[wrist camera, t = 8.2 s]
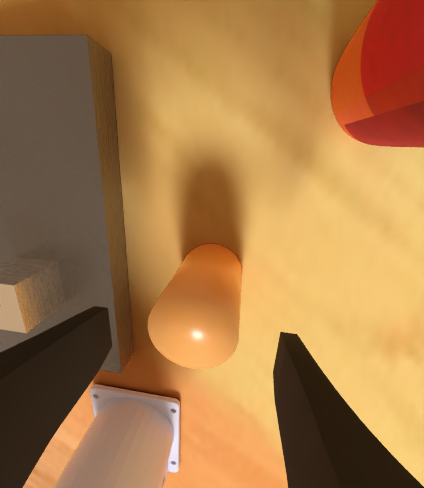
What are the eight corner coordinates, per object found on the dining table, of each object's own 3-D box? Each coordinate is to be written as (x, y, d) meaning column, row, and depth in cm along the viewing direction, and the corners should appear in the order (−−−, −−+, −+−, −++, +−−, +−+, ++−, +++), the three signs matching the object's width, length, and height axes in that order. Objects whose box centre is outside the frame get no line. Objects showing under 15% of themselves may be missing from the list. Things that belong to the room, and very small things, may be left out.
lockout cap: (239, 301, 16) (234, 375, 11) (182, 294, 17) (149, 361, 11) (244, 247, 15) (243, 299, 9) (183, 240, 15) (145, 286, 10)
